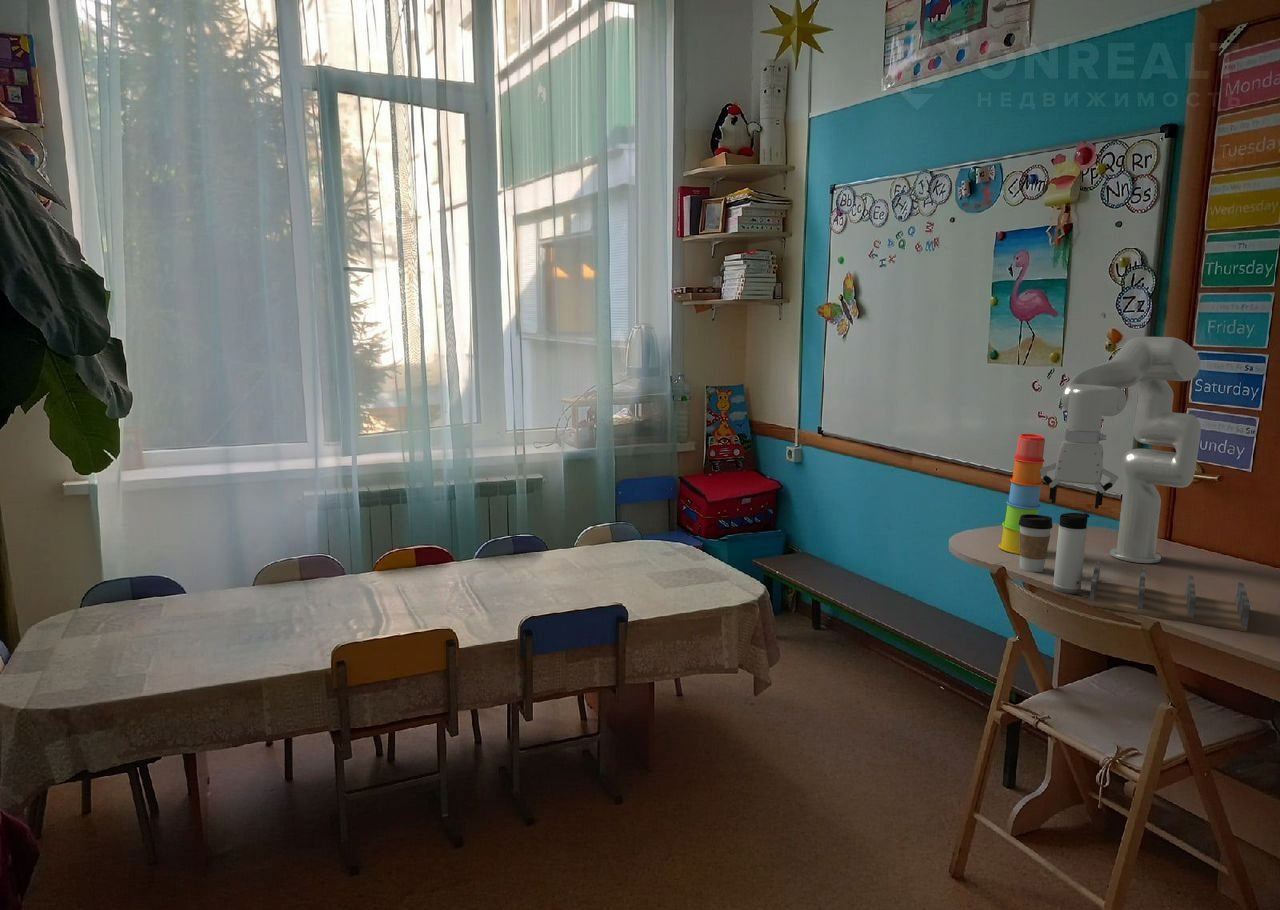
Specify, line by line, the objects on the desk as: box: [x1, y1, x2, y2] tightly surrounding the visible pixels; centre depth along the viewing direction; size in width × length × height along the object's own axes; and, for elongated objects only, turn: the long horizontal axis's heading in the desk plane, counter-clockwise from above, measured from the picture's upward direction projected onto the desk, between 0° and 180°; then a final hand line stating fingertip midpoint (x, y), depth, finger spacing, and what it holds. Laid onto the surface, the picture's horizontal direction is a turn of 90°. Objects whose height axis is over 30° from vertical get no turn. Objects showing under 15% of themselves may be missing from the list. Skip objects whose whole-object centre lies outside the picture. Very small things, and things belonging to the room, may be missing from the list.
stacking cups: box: [998, 433, 1046, 555], centre depth 244 cm, size 10×10×35 cm
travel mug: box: [1052, 512, 1090, 595], centre depth 210 cm, size 6×7×20 cm
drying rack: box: [1088, 561, 1251, 633], centre depth 200 cm, size 18×31×6 cm, turn 58°
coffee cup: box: [1019, 514, 1053, 573], centre depth 228 cm, size 8×8×15 cm
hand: (1074, 505), depth 208 cm, fingers open, 9 cm apart
